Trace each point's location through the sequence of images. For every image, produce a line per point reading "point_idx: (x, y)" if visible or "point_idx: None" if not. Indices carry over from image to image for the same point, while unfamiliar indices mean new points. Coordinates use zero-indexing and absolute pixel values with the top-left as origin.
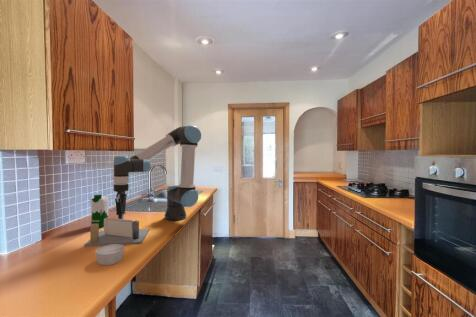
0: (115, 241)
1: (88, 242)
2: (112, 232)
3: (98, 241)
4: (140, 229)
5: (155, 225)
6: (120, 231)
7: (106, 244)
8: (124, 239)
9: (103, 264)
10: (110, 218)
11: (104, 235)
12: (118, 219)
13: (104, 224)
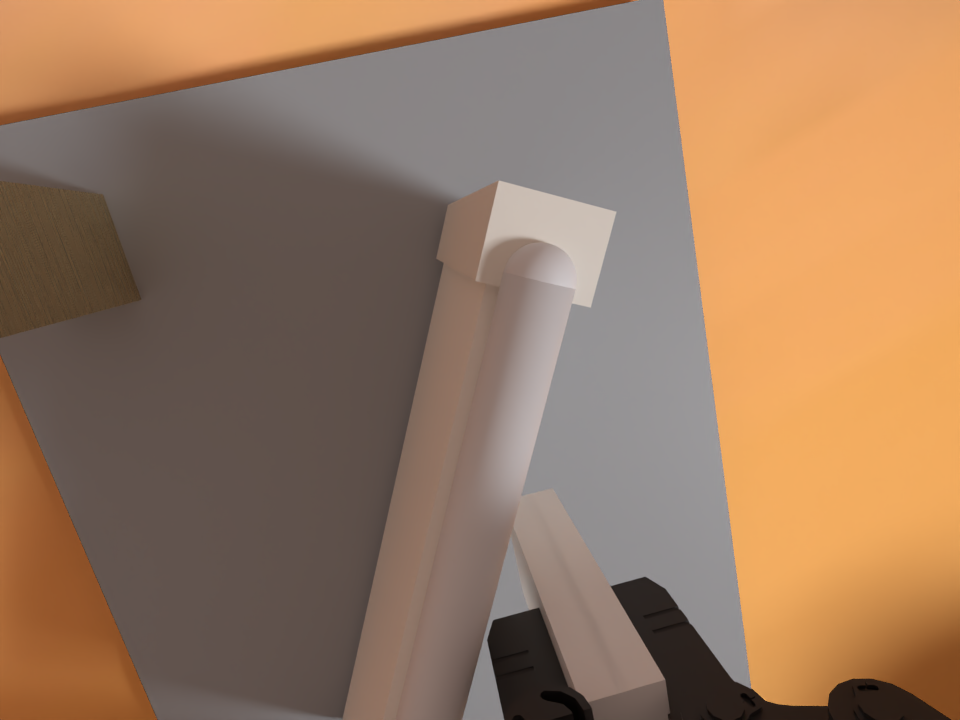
0: (168, 578)
1: (26, 159)
2: (419, 396)
3: (115, 310)
4: (728, 629)
5: (949, 676)
6: (382, 581)
7: (69, 486)
8: (278, 650)
9: None
10: (479, 433)
11: (420, 230)
12: (409, 713)
13: (470, 209)
